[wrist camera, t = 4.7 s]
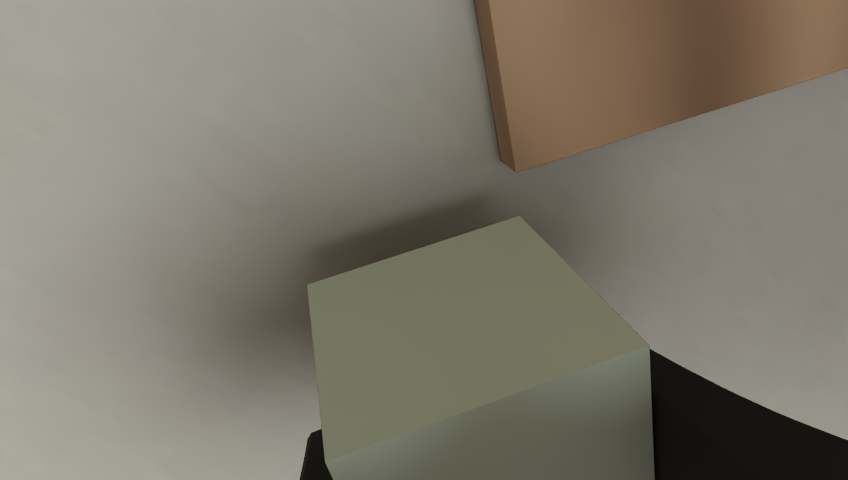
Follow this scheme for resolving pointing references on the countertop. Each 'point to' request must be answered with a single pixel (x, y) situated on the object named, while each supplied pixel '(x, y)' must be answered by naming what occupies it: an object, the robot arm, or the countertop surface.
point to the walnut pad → (641, 64)
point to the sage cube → (478, 367)
